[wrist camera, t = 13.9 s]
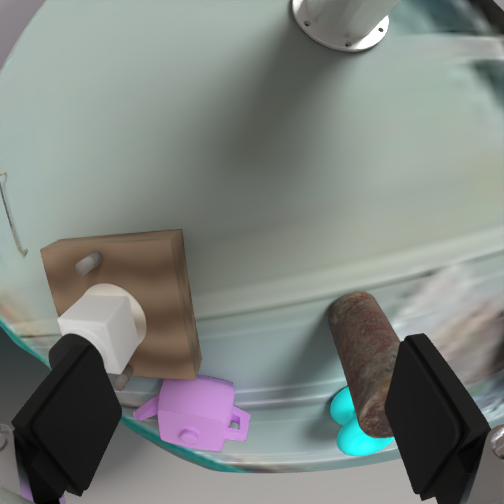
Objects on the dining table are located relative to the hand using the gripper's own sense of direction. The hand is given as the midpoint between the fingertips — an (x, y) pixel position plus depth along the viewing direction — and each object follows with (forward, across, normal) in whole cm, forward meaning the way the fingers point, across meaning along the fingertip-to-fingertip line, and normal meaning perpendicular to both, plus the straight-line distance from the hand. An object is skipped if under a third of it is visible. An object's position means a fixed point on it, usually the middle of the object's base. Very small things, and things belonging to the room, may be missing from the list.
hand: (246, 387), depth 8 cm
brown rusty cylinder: (+31, -12, +15) cm, 36 cm away
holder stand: (+30, +20, +12) cm, 38 cm away
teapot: (+31, +12, +30) cm, 45 cm away
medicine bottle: (+25, +20, +12) cm, 34 cm away
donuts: (+31, -15, +33) cm, 47 cm away
